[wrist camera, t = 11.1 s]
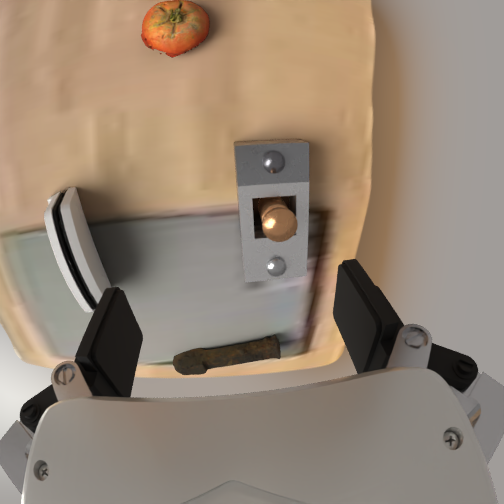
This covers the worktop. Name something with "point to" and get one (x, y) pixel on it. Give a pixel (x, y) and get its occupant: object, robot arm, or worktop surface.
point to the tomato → (175, 27)
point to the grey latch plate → (273, 185)
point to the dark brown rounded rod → (226, 356)
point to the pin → (277, 219)
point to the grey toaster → (75, 249)
